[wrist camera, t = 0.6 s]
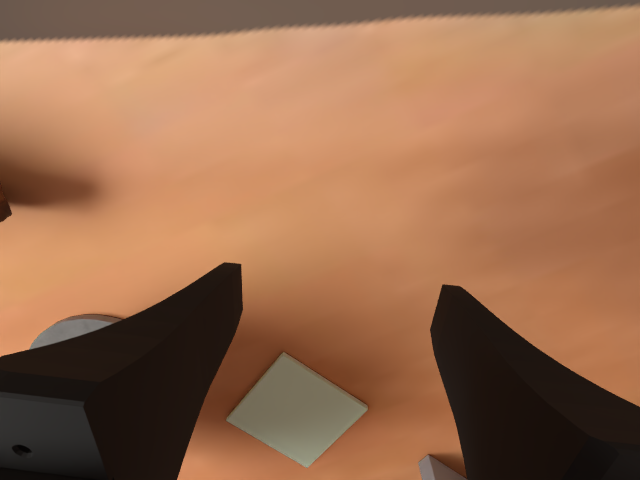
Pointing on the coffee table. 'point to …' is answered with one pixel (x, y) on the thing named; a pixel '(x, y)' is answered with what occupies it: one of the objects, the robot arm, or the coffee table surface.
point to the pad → (296, 411)
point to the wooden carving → (4, 207)
